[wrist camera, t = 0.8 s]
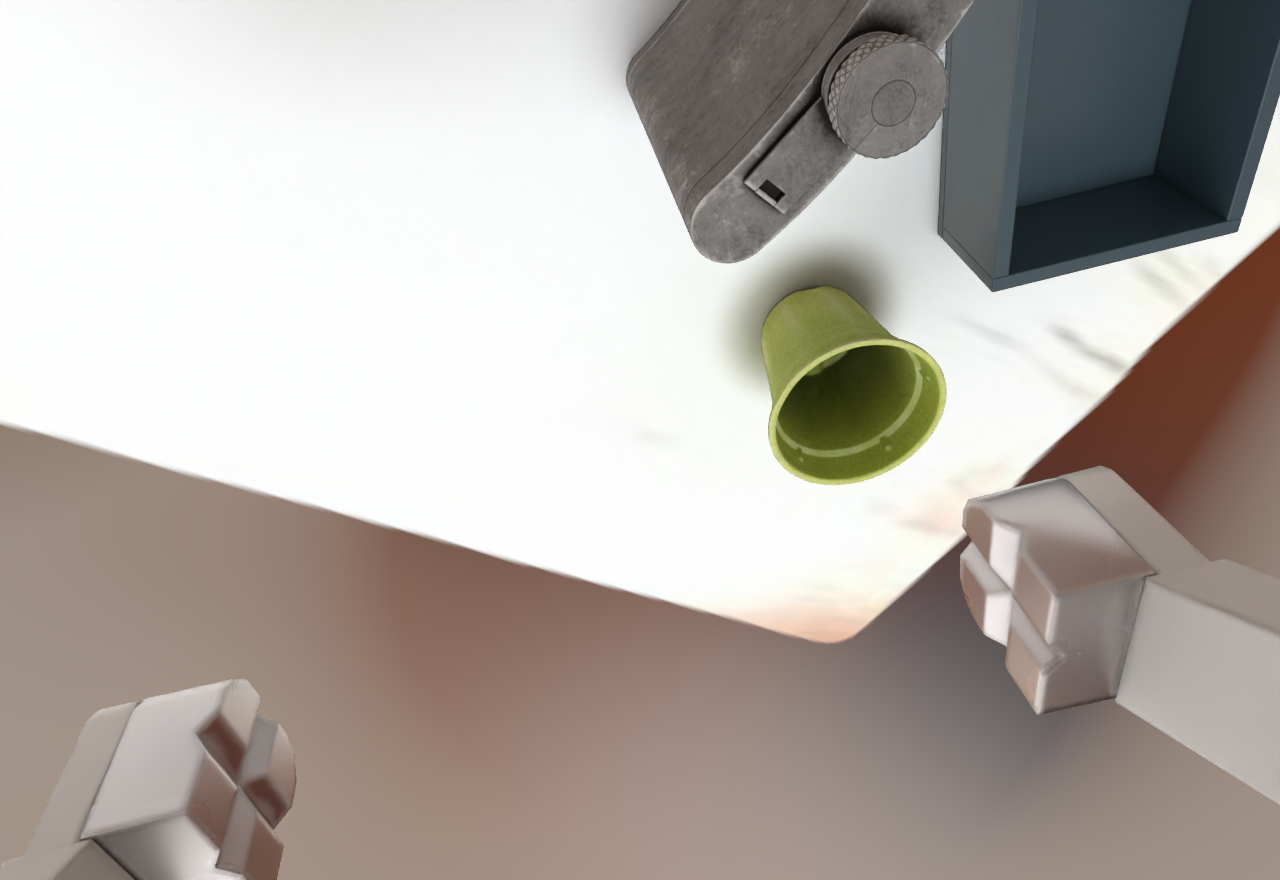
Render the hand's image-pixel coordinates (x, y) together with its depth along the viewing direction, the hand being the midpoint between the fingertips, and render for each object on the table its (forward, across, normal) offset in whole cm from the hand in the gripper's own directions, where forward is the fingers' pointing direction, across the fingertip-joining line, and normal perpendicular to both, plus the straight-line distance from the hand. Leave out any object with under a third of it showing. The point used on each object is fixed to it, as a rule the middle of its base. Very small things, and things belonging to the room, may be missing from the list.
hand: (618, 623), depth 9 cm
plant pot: (+36, -13, +18) cm, 43 cm away
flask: (+35, -10, -2) cm, 36 cm away
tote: (+34, -26, +3) cm, 44 cm away
